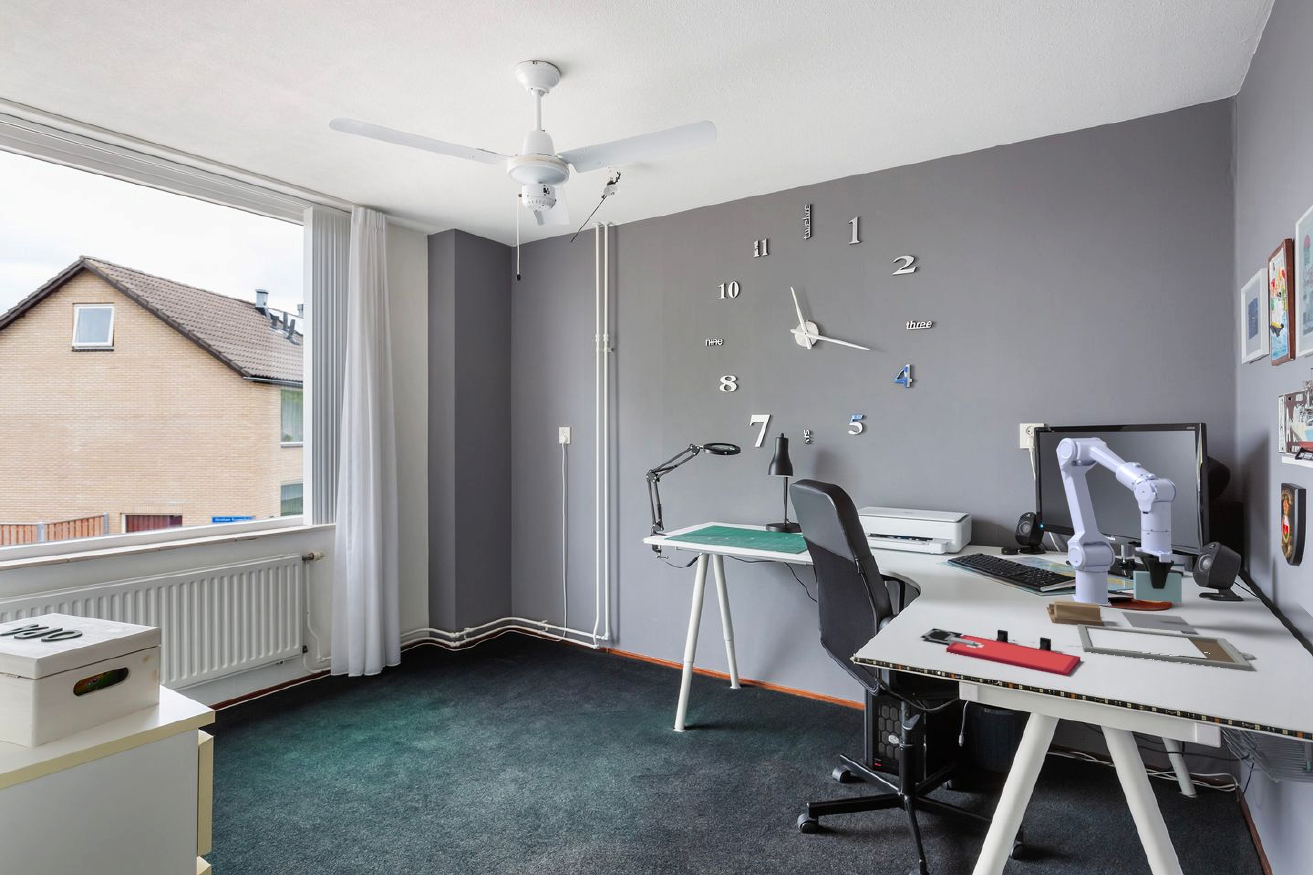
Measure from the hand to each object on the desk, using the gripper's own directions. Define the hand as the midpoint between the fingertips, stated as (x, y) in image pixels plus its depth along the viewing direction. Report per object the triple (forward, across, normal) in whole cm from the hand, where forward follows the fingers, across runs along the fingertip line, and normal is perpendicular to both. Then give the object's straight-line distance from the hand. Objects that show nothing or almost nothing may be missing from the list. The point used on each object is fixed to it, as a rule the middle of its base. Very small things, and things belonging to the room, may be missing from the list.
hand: (1156, 587), depth 163 cm
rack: (+9, +1, -17) cm, 19 cm away
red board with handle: (+9, +34, -37) cm, 51 cm away
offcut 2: (+8, +6, -17) cm, 20 cm away
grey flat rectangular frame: (+10, +21, -4) cm, 23 cm away
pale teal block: (+3, 0, 0) cm, 3 cm away
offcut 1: (+8, +4, -17) cm, 19 cm away
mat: (+9, 0, 0) cm, 9 cm away
